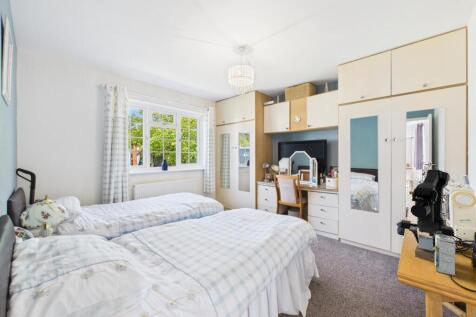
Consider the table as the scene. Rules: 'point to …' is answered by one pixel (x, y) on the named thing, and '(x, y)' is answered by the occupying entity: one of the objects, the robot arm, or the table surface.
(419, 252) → the walnut block
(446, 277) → the table surface
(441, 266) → the syrup box
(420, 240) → the painted cube
